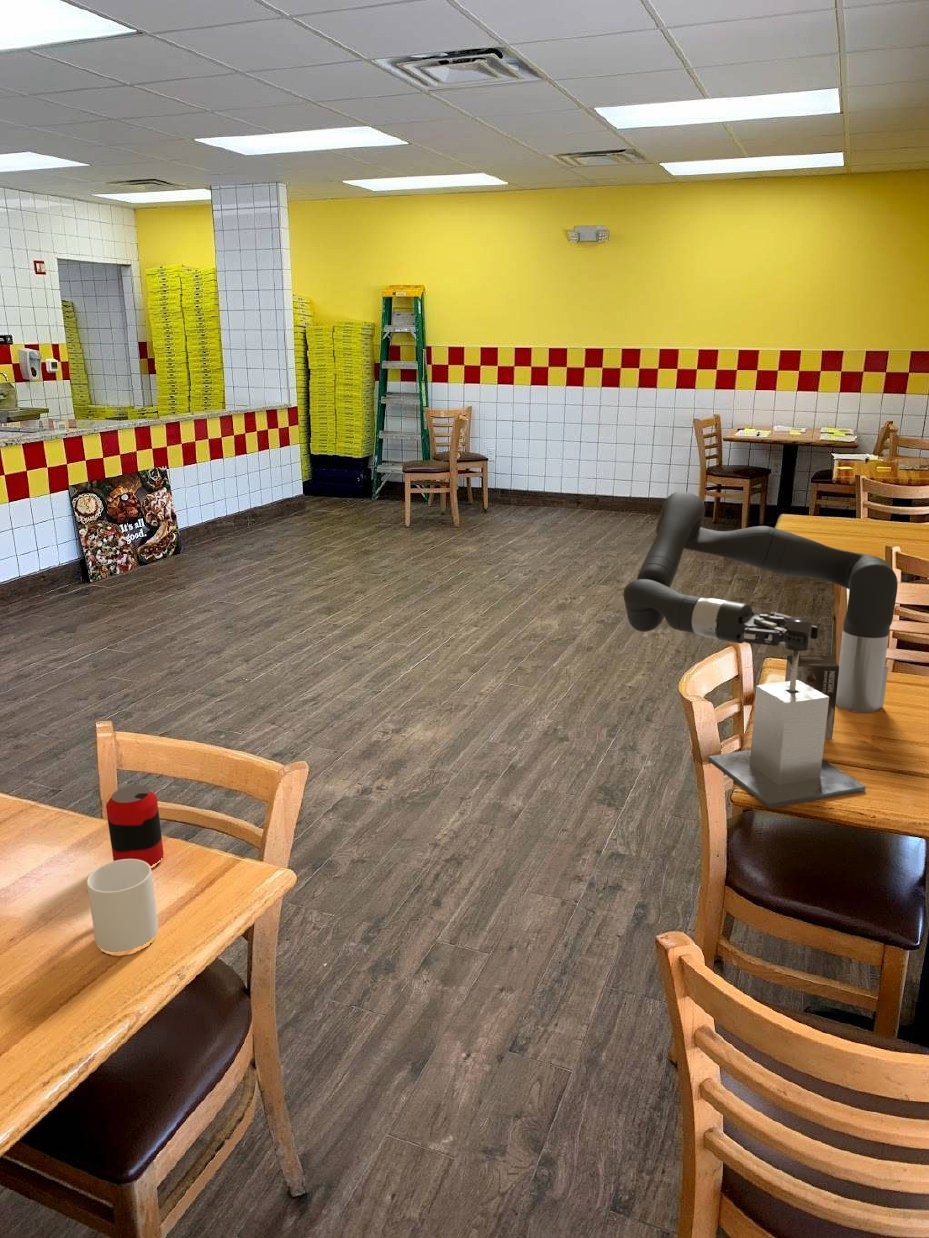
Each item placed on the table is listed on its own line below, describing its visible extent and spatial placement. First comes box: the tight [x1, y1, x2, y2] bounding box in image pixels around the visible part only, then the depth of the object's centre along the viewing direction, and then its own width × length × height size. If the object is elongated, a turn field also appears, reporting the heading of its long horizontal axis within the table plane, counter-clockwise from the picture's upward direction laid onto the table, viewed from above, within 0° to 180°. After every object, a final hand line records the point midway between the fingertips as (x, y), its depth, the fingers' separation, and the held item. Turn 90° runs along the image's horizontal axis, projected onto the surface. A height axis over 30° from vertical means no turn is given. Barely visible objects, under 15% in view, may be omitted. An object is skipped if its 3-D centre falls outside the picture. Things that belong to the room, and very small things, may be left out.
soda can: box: [105, 785, 165, 866], centre depth 146 cm, size 8×8×12 cm
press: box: [707, 680, 867, 809], centre depth 172 cm, size 20×20×17 cm
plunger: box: [783, 616, 813, 694], centre depth 168 cm, size 6×6×22 cm
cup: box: [86, 859, 159, 952], centre depth 129 cm, size 8×12×10 cm
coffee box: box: [784, 655, 839, 740], centre depth 190 cm, size 9×6×16 cm
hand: (813, 636), depth 164 cm, fingers closed on plunger, 4 cm apart
